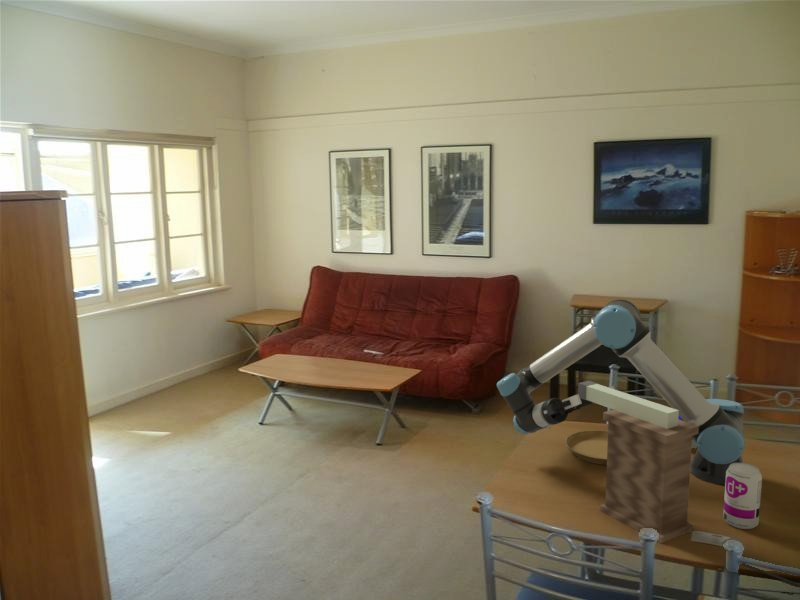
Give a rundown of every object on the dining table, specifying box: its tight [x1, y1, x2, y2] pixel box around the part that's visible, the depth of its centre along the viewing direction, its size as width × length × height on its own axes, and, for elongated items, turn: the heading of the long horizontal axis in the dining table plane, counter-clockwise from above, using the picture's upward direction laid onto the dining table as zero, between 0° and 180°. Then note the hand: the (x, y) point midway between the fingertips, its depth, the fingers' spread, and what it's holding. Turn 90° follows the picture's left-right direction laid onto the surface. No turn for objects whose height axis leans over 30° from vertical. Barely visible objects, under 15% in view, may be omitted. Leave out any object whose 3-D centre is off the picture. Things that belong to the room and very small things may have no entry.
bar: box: [577, 380, 679, 429], centre depth 178 cm, size 30×4×4 cm, turn 30°
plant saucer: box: [565, 429, 608, 466], centre depth 221 cm, size 24×24×3 cm
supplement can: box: [722, 462, 763, 530], centre depth 173 cm, size 8×8×15 cm
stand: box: [599, 409, 699, 544], centre depth 174 cm, size 20×12×28 cm, turn 30°
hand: (597, 394), depth 186 cm, fingers open, 13 cm apart
